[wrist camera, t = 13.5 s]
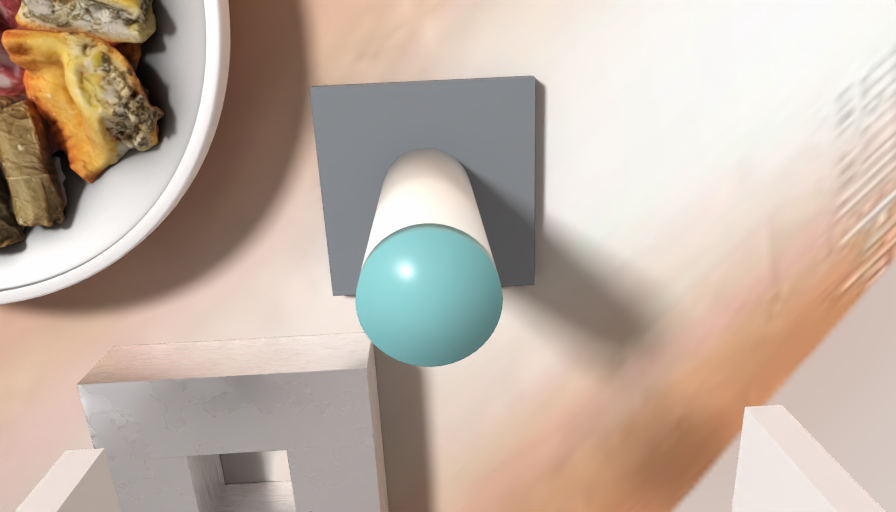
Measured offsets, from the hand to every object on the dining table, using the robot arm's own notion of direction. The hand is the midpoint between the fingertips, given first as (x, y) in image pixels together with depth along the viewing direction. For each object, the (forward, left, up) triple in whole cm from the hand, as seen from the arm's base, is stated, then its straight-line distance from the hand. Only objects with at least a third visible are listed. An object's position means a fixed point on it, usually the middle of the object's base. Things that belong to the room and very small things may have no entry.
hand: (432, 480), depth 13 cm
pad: (0, 0, -25) cm, 25 cm away
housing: (-12, -17, -25) cm, 32 cm away
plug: (0, 0, -24) cm, 24 cm away
